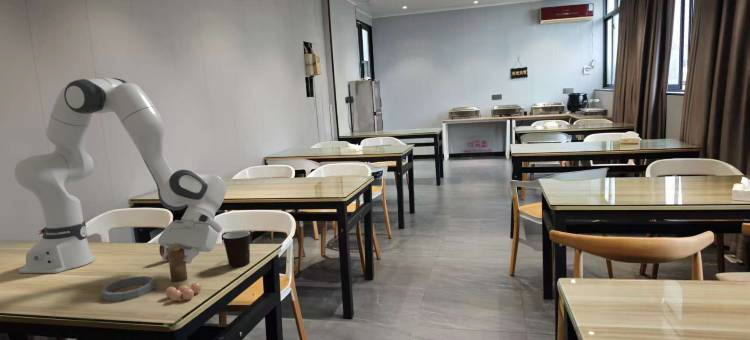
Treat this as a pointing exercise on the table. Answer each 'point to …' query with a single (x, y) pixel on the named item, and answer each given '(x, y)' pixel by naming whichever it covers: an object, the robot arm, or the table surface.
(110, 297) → the ring
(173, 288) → the bead pile
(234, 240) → the coffee mug
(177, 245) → the pepper mill
